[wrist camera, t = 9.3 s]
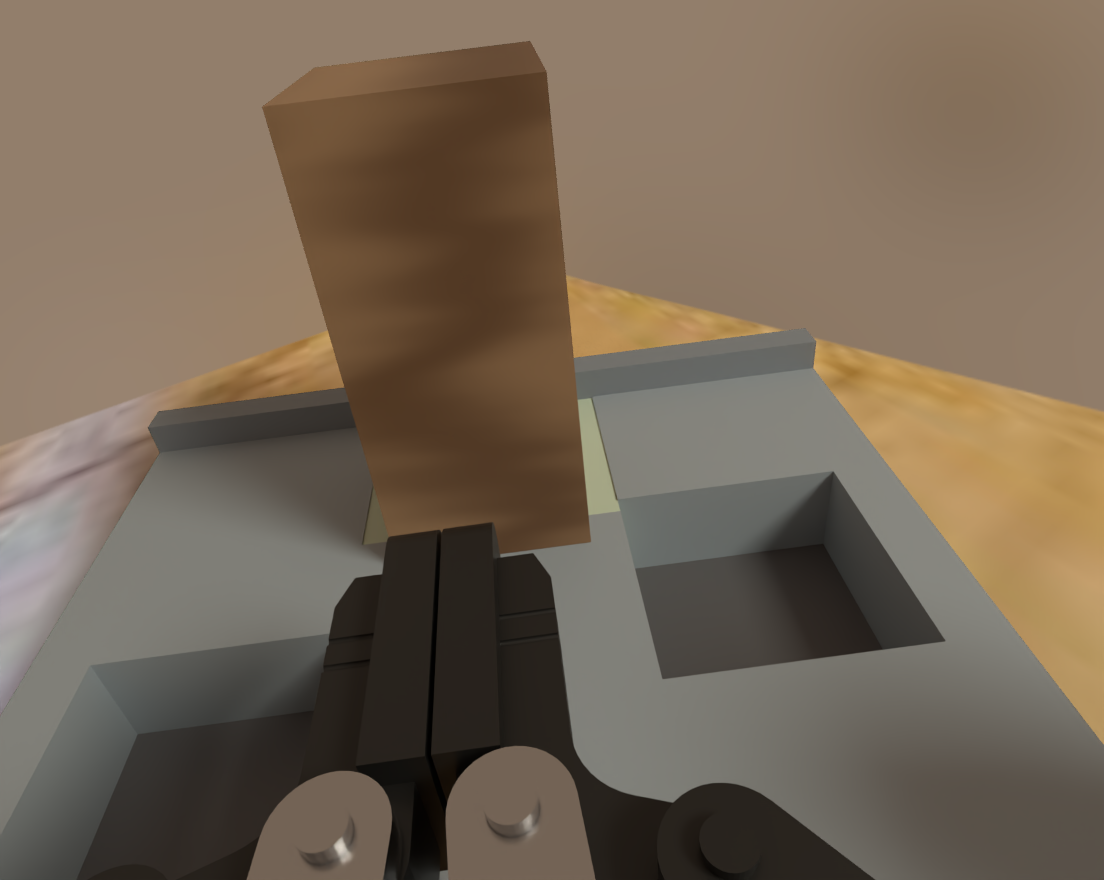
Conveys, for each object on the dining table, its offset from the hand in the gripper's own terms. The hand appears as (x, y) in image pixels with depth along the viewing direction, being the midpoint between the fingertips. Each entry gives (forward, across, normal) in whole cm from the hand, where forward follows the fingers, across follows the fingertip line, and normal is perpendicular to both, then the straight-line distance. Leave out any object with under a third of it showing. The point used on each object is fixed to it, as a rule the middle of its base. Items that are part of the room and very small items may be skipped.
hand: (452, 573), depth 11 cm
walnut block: (+9, 0, +6) cm, 10 cm away
